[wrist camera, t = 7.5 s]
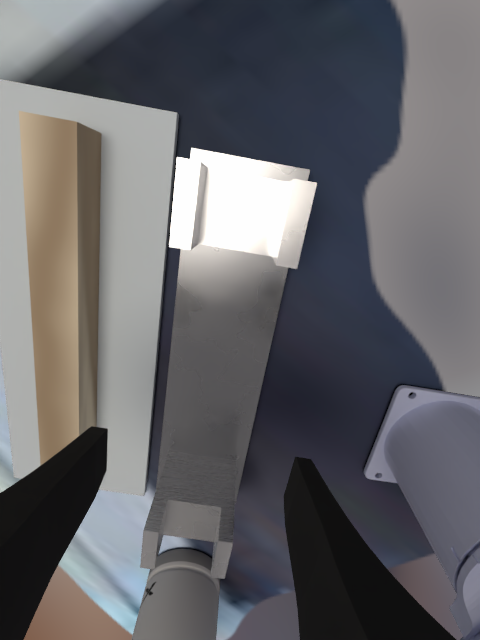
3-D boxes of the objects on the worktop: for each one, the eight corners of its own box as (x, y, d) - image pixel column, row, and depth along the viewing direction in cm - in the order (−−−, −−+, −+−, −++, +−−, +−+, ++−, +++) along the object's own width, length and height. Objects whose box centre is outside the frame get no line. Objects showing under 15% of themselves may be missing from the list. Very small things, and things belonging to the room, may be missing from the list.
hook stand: (306, 172, 17) (342, 153, 11) (236, 489, 25) (232, 591, 19) (194, 151, 17) (161, 119, 10) (160, 478, 25) (128, 577, 18)
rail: (101, 133, 16) (76, 121, 14) (95, 474, 24) (79, 504, 22) (51, 123, 16) (18, 110, 14) (62, 469, 24) (42, 498, 22)
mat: (178, 115, 16) (176, 112, 16) (145, 490, 25) (144, 496, 25) (-20, 77, 16) (-28, 73, 15) (18, 472, 25) (14, 477, 24)
